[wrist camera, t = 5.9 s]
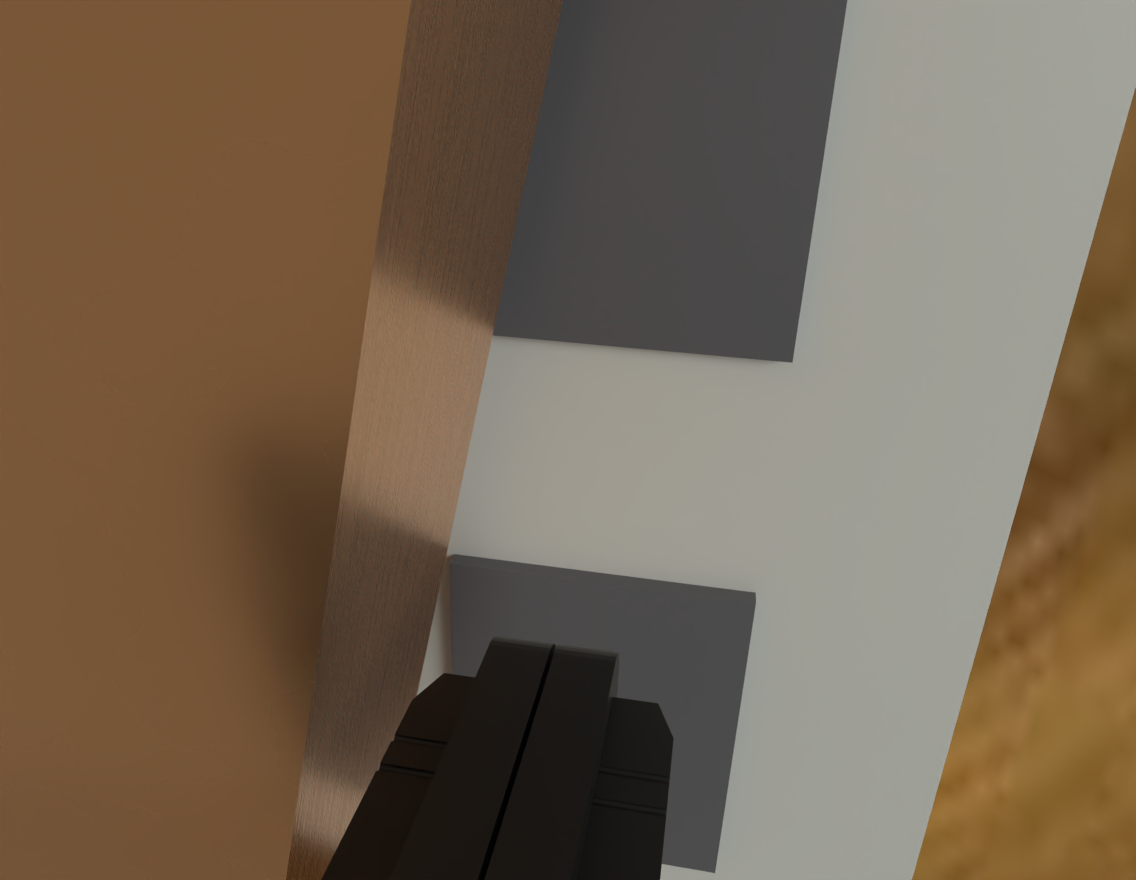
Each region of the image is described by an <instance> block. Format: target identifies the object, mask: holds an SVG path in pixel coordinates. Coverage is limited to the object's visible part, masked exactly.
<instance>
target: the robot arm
mask: <svg viewBox="0 0 1136 880" xmlns="http://www.w3.org/2000/svg"><path fill="white" fill-rule="evenodd" d="M618 675H619V652H614V651H607V650H600V649H592V648H585V647H577V646H570V645H563V644H558V645H557V647H556V645H555V644H553V643H546V642H539V641H531V640H524V639H516V638H509V637H502V636H494V637H493V638H492V640H491V642H490V644H489V646H488V648H487V651H486V653H485V655H484V658H483V660H482V663H481V665H480V667H479V670H478V672H477V674H476V677H469V676H462V675H455V674H448V673H443V674H442V675H441V676H440V677H439V678H437V679H436V680H435V681H434V682H433V683H431V684H430V685H429V686H428V687H427V688H425V689H424V690H423V691H422V692H421V693H420V694H418V695H417V696H416V697H415V698H414V699H412V701H411V703H410V705H409V707H408V709H407V711H406V713H405V715H404V717H403V719H402V721H401V723H400V725H399V727H398V729H397V731H396V733H395V737H394V741H391V742H390V744H389V746H388V748H387V750H386V752H385V754H384V756H383V758H382V760H381V762H380V768H379V771H377V770H376V772H375V774H374V776H373V778H372V780H371V782H370V784H369V786H368V788H367V790H366V792H365V794H364V796H363V798H362V800H361V802H360V804H359V806H358V808H357V810H356V812H355V814H354V816H353V818H352V819H351V821H350V823H349V825H348V827H347V829H346V831H345V833H344V835H343V837H342V839H341V841H340V843H339V845H338V847H337V849H336V851H335V853H334V855H333V857H332V859H331V861H330V863H329V865H328V867H327V869H326V871H325V873H324V875H323V877H322V879H321V880H660V876H661V866H662V855H663V845H664V834H665V824H666V813H667V803H668V792H669V781H670V771H671V761H672V750H673V740H674V738H673V736H672V734H671V731H670V729H669V727H668V724H667V722H666V720H665V718H664V715H663V713H662V711H661V708H660V706H659V704H658V703H652V702H646V701H639V700H632V699H625V698H618V697H617V689H618Z"/></svg>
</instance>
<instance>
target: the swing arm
mask: <svg viewBox="0 0 1136 880" xmlns="http://www.w3.org/2000/svg"><path fill="white" fill-rule="evenodd" d="M562 3H563V0H0V880H321V879H322V877H323V875H324V873H325V871H326V869H327V867H328V865H329V863H330V861H331V859H332V857H333V855H334V853H335V851H336V849H337V847H338V845H339V843H340V841H341V839H342V837H343V835H344V833H345V831H346V829H347V827H348V825H349V823H350V821H351V819H352V818H353V816H354V814H355V812H356V810H357V808H358V806H359V804H360V802H361V800H362V798H363V796H364V794H365V792H366V790H367V788H368V786H369V784H370V782H371V780H372V778H373V776H374V774H375V772H376V770H377V771H379V768H380V762H381V760H382V758H383V756H384V754H385V752H386V750H387V748H388V746H389V744H390V742H391V741H394V737H395V733H396V731H397V729H398V727H399V725H400V723H401V721H402V719H403V717H404V715H405V713H406V711H407V709H408V707H409V705H410V703H411V701H412V699H414V698H415V697H416V696H417V692H418V688H419V683H420V678H421V673H422V669H423V664H424V659H425V654H426V650H427V645H428V640H429V635H430V631H431V626H432V621H433V616H434V612H435V607H436V602H437V597H438V593H439V588H440V583H441V578H442V574H443V569H444V564H445V559H446V555H447V550H448V545H449V540H450V536H451V531H452V526H453V521H454V517H455V512H456V507H457V502H458V498H459V493H460V488H461V483H462V479H463V474H464V469H465V464H466V460H467V455H468V450H469V445H470V441H471V436H472V431H473V426H474V421H475V417H476V412H477V407H478V402H479V398H480V393H481V388H482V383H483V379H484V374H485V369H486V364H487V360H488V355H489V350H490V345H491V341H492V336H493V331H494V326H495V322H496V317H497V312H498V307H499V303H500V298H501V293H502V288H503V284H504V279H505V274H506V269H507V265H508V260H509V255H510V250H511V246H512V241H513V236H514V231H515V227H516V222H517V217H518V212H519V208H520V203H521V198H522V193H523V189H524V184H525V179H526V174H527V170H528V165H529V160H530V155H531V151H532V146H533V141H534V136H535V132H536V127H537V122H538V117H539V113H540V108H541V103H542V98H543V94H544V89H545V84H546V79H547V75H548V70H549V65H550V60H551V56H552V51H553V46H554V41H555V37H556V32H557V27H558V22H559V18H560V13H561V8H562Z"/></svg>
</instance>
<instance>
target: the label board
mask: <svg viewBox="0 0 1136 880" xmlns="http://www.w3.org/2000/svg"><path fill="white" fill-rule="evenodd" d="M1135 87H1136V0H563V3H562V8H561V13H560V18H559V22H558V27H557V32H556V37H555V41H554V46H553V51H552V56H551V60H550V65H549V70H548V75H547V79H546V84H545V89H544V94H543V98H542V103H541V108H540V113H539V117H538V122H537V127H536V132H535V136H534V141H533V146H532V151H531V155H530V160H529V165H528V170H527V174H526V179H525V184H524V189H523V193H522V198H521V203H520V208H519V212H518V217H517V222H516V227H515V231H514V236H513V241H512V246H511V250H510V255H509V260H508V265H507V269H506V274H505V279H504V284H503V288H502V293H501V298H500V303H499V307H498V312H497V317H496V322H495V326H494V331H493V336H492V341H491V345H490V350H489V355H488V360H487V364H486V369H485V374H484V379H483V383H482V388H481V393H480V398H479V402H478V407H477V412H476V417H475V421H474V426H473V431H472V436H471V441H470V445H469V450H468V455H467V460H466V464H465V469H464V474H463V479H462V483H461V488H460V493H459V498H458V502H457V507H456V512H455V517H454V521H453V526H452V531H451V536H450V540H449V545H448V550H447V555H446V559H445V564H444V569H443V574H442V578H441V583H440V588H439V593H438V597H437V602H436V607H435V612H434V616H433V621H432V626H431V631H430V635H429V640H428V645H427V650H426V654H425V659H424V664H423V669H422V673H421V678H420V683H419V688H418V692H417V695H418V694H420V693H421V692H422V691H423V690H424V689H425V688H427V687H428V686H429V685H430V684H431V683H433V682H434V681H435V680H436V679H437V678H439V677H440V676H441V675H442V674H443V673H448V674H455V675H462V676H469V677H476V674H477V672H478V670H479V667H480V665H481V663H482V660H483V658H484V655H485V653H486V651H487V648H488V646H489V644H490V642H491V640H492V638H493V637H494V636H502V637H509V638H516V639H524V640H531V641H539V642H546V643H553V644H555V645H556V647H557V645H558V644H563V645H570V646H577V647H585V648H592V649H600V650H607V651H614V652H619V675H618V689H617V697H618V698H625V699H632V700H639V701H646V702H652V703H658V704H659V706H660V708H661V711H662V713H663V715H664V718H665V720H666V722H667V724H668V727H669V729H670V731H671V734H672V736H673V738H674V740H673V750H672V761H671V771H670V781H669V792H668V803H667V813H666V824H665V834H664V845H663V855H662V866H661V876H660V880H912V877H913V874H914V870H915V867H916V863H917V859H918V856H919V852H920V849H921V845H922V842H923V838H924V835H925V831H926V828H927V824H928V820H929V817H930V813H931V810H932V806H933V803H934V799H935V796H936V792H937V789H938V785H939V781H940V778H941V774H942V771H943V767H944V764H945V760H946V757H947V753H948V750H949V746H950V743H951V739H952V735H953V732H954V728H955V725H956V721H957V718H958V714H959V711H960V707H961V704H962V700H963V696H964V693H965V689H966V686H967V682H968V679H969V675H970V672H971V668H972V665H973V661H974V657H975V654H976V650H977V647H978V643H979V640H980V636H981V633H982V629H983V626H984V622H985V618H986V615H987V611H988V608H989V604H990V601H991V597H992V594H993V590H994V587H995V583H996V579H997V576H998V572H999V569H1000V565H1001V562H1002V558H1003V555H1004V551H1005V548H1006V544H1007V540H1008V537H1009V533H1010V530H1011V526H1012V523H1013V519H1014V516H1015V512H1016V509H1017V505H1018V501H1019V498H1020V494H1021V491H1022V487H1023V484H1024V480H1025V477H1026V473H1027V470H1028V466H1029V462H1030V459H1031V455H1032V452H1033V448H1034V445H1035V441H1036V438H1037V434H1038V431H1039V427H1040V423H1041V420H1042V416H1043V413H1044V409H1045V406H1046V402H1047V399H1048V395H1049V392H1050V388H1051V385H1052V381H1053V377H1054V374H1055V370H1056V367H1057V363H1058V360H1059V356H1060V353H1061V349H1062V346H1063V342H1064V338H1065V335H1066V331H1067V328H1068V324H1069V321H1070V317H1071V314H1072V310H1073V307H1074V303H1075V299H1076V296H1077V292H1078V289H1079V285H1080V282H1081V278H1082V275H1083V271H1084V268H1085V264H1086V260H1087V257H1088V253H1089V250H1090V246H1091V243H1092V239H1093V236H1094V232H1095V229H1096V225H1097V221H1098V218H1099V214H1100V211H1101V207H1102V204H1103V200H1104V197H1105V193H1106V190H1107V186H1108V182H1109V179H1110V175H1111V172H1112V168H1113V165H1114V161H1115V158H1116V154H1117V151H1118V147H1119V143H1120V140H1121V136H1122V133H1123V129H1124V126H1125V122H1126V119H1127V115H1128V112H1129V108H1130V104H1131V101H1132V97H1133V94H1134V90H1135Z"/></svg>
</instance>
